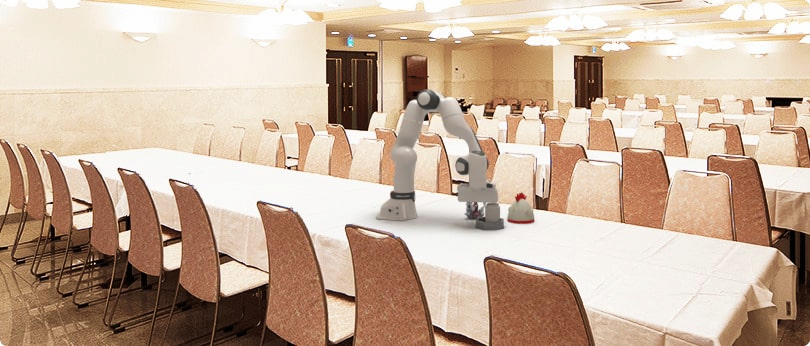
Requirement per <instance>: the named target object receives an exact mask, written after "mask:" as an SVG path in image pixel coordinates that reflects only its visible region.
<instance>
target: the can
mask: <svg viewBox="0 0 810 346" xmlns="http://www.w3.org/2000/svg"><path fill="white" fill-rule="evenodd" d="M484 217H485V222H499V221H500V218H501V206H500V203H498V202H497V203H490V202H486V205H485V207H484Z"/></svg>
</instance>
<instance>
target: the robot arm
mask: <svg viewBox="0 0 810 346" xmlns="http://www.w3.org/2000/svg"><path fill="white" fill-rule="evenodd" d="M427 114H431V115H432V114H440V117H441V121H442V126H443V127H444V129H445V131H446V133H448V134H449V135H451V136H453V137H457V138H460V139H461V140H464V142H466V143H465V144H467V146H468V149H469V151H470V152H469V153H468V154H466V155H463V156H460V157H458V158H457V159H456V160H455V166H454V167H455V171H456V173H458V174H459V175H460V176H468V182H467V183H466V182H465V183H464V182H463V183H461V182H460V184H458V185H457V187H456V190H457V192H458V193H457V201H458V203H467V202H470V206H471V207H472V211H475V207H473V204H474V202H477V203H482V205H483V206H481V207H480V208H481V211H484V212H485V206H486V205H487V203H498V202H499V192H498V188H496V186H497V184H496V182H495V181H492V180H489V179H488V177H487V176H488V175H487V171H488V170H489V167H490V162H489V159H488V157H487V154H486V153H485V152H484V151H483V149H482V146H481V145H480V142H479V139H478V137H477V135H476V133H475V131H474V129H473V128H472V127H471V126H470V125H469V124H468V122H467V120H465V118H464V117H465V116H464V113H463V111H462V108H461V106H460V104H459V102H458V100H457V99H456V98H455V97H452V96H448V97H446V96H445V95H444V94H443V93H440V92H439V91H436V90H432V89H429V88H426V89H422V90H421V91H419V92H418V94H417V96H416V99H412V100H410V101H409V102H408V104H407V106H406V107H405V110H404V113H403V116H402V120H401V122H400V123H401V124H400V127H399V130H398V131H399V132H398V133H397V136H396V137H395V140H394V142H393V145H392V147H391V149H390V152H389V155H390V159H391V161H392V162H393V163H394V164H395V166H394V167H395V169H394V175H393V176H392V177H393V190H391V191H390V193H389V196H390V197H389V199H387V200H386V201H385V202H383V203H382V205H381V206H380V210H379V213H377V214H376V215H375V219H377V220H386V221H388V220H389V221H407V220H413V219H416V218H418V217H419V216H418V212H417V208H416V203H415V202H416V191H415V172H416V165H417V161H418V154H417V151H415V150H414V148H415V145H416V143H417V141H418V139H419V138H420V134H421V132H422V127H423V125H424V121H425V117H426V116H427Z"/></svg>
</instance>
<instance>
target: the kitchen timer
mask: <svg viewBox="0 0 810 346" xmlns="http://www.w3.org/2000/svg"><path fill="white" fill-rule="evenodd" d="M514 197H515V201H513V203H511V206H509V207H508V210H507V212H508V213H507V218H506V220H507V221H506V222H508V223H509V224H516V225H527V224H528V225H529V224H532V223H534V222H535V214H534V209H533V207H532V206H531V204H530V202H528V201H527V198H528V197H527V195H526V194H525V193H524V192H523V191H522V192H519V193H516V196H514Z"/></svg>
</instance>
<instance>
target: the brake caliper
mask: <svg viewBox="0 0 810 346" xmlns="http://www.w3.org/2000/svg"><path fill="white" fill-rule="evenodd" d="M478 203H479V202H473V204H472V205H473V207H475V211H472V207H471V206H470V202H465V206H466V208H465V213H464V215H465V216H466V217H467V218H468V219H469V220H476V218H480V217H485V210H484V211H481V207H480V209H479V204H478Z"/></svg>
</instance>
